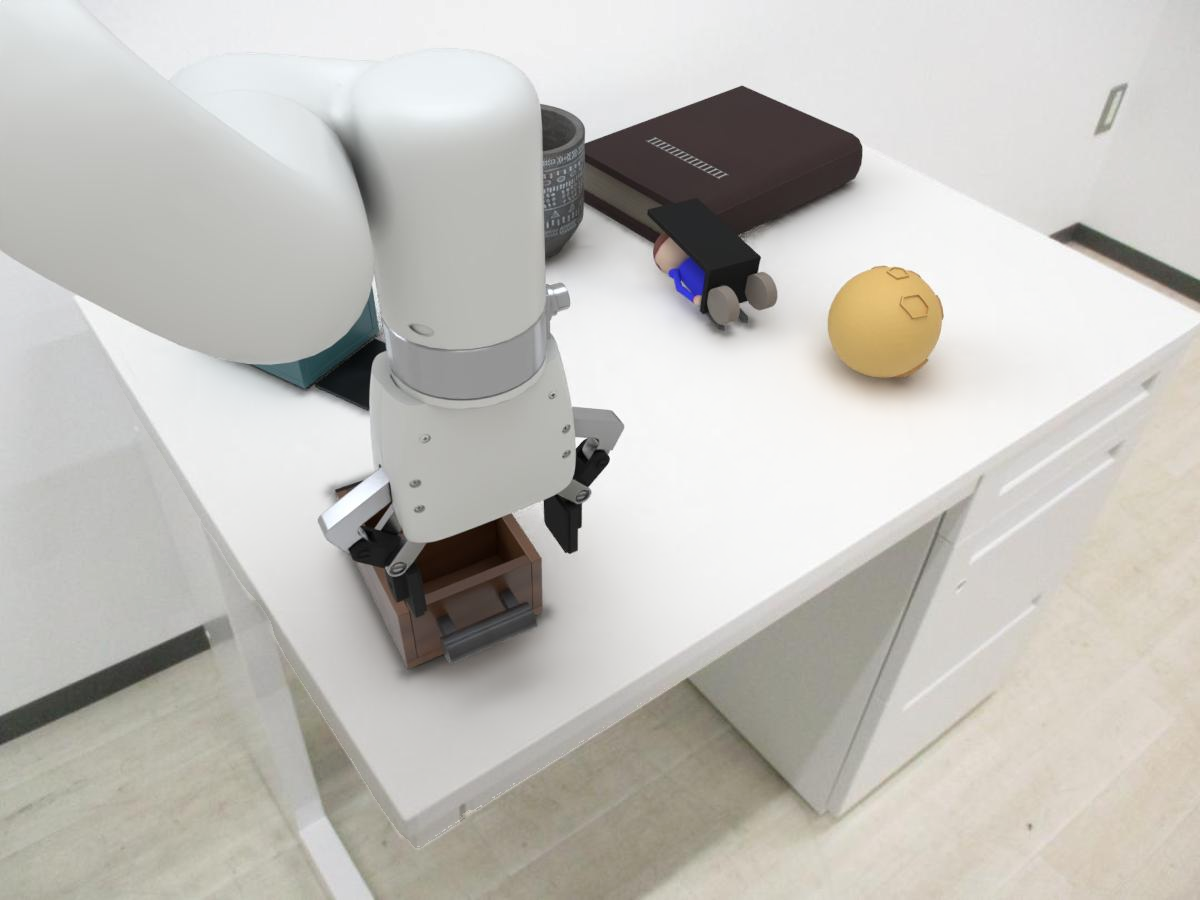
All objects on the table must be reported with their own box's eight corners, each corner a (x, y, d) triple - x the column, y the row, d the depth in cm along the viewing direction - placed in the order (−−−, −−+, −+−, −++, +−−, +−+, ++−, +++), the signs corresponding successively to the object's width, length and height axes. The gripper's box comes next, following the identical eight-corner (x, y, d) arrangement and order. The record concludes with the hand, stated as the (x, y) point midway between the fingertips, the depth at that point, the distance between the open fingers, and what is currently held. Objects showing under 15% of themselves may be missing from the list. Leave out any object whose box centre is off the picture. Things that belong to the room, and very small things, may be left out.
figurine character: (771, 337, 93) (688, 249, 101) (789, 277, 88) (699, 188, 95) (715, 357, 91) (634, 265, 99) (731, 297, 85) (643, 204, 93)
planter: (528, 285, 96) (525, 168, 87) (446, 242, 102) (436, 127, 93) (606, 240, 103) (610, 127, 94) (525, 201, 109) (522, 91, 100)
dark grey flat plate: (315, 386, 84) (314, 384, 83) (374, 340, 89) (374, 338, 88) (367, 410, 81) (367, 408, 81) (425, 362, 87) (425, 359, 86)
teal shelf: (181, 332, 88) (164, 279, 84) (260, 282, 94) (247, 231, 90) (304, 389, 83) (292, 335, 79) (379, 332, 89) (371, 279, 85)
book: (693, 267, 100) (699, 216, 96) (573, 195, 110) (573, 147, 106) (856, 186, 114) (867, 140, 110) (736, 130, 124) (742, 85, 120)
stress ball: (875, 413, 83) (904, 320, 76) (796, 356, 89) (816, 265, 82) (948, 374, 88) (981, 283, 81) (868, 322, 93) (893, 232, 87)
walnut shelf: (564, 645, 64) (565, 592, 60) (426, 707, 60) (417, 655, 56) (472, 501, 74) (468, 447, 70) (348, 547, 70) (335, 492, 66)
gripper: (589, 249, 50) (585, 478, 62) (259, 343, 43) (326, 578, 55) (665, 324, 45) (646, 556, 57) (309, 442, 39) (370, 675, 51)
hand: (488, 567), depth 56 cm, fingers open, 9 cm apart
